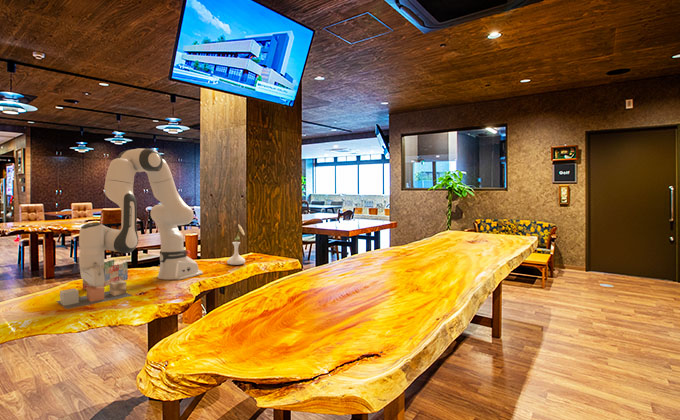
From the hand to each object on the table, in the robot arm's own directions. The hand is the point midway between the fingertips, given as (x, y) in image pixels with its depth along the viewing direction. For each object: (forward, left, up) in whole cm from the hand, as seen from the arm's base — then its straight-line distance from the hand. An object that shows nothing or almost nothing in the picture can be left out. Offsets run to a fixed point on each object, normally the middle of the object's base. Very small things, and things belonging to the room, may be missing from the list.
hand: (92, 292), depth 155 cm
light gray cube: (+8, +1, -2) cm, 9 cm away
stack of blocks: (-12, -20, -3) cm, 24 cm away
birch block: (-10, +1, -2) cm, 10 cm away
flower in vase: (-83, -14, -3) cm, 84 cm away
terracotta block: (0, +3, -2) cm, 4 cm away
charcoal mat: (-1, +2, -3) cm, 3 cm away
